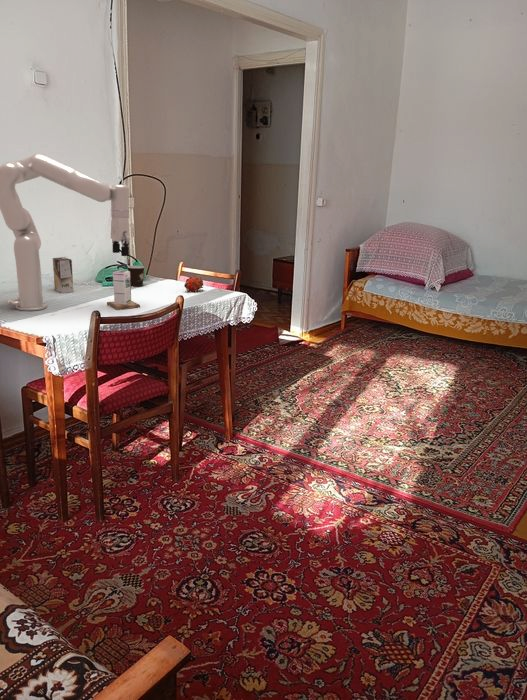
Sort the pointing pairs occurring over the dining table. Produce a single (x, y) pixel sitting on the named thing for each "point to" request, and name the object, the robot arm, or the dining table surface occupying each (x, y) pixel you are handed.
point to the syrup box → (122, 287)
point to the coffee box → (63, 274)
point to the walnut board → (118, 306)
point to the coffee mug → (136, 275)
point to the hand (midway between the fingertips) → (120, 254)
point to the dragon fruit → (193, 284)
